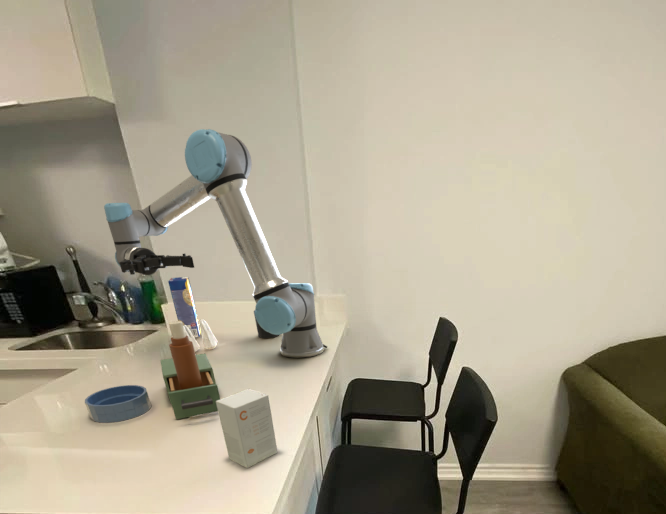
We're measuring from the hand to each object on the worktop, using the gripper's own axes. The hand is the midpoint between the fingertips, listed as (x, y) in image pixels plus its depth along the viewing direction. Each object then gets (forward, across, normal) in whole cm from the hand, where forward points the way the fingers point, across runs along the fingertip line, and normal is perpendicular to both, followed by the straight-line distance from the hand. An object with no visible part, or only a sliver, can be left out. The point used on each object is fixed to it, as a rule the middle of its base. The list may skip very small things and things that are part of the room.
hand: (168, 265), depth 117 cm
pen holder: (-26, -43, -32) cm, 60 cm away
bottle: (+25, +10, -30) cm, 40 cm away
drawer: (+26, +11, -31) cm, 42 cm away
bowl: (+13, +26, -32) cm, 43 cm away
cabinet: (+12, +6, -32) cm, 35 cm away
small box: (+58, +13, -32) cm, 68 cm away
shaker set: (-28, -15, -32) cm, 45 cm away
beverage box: (-55, -22, -32) cm, 67 cm away
